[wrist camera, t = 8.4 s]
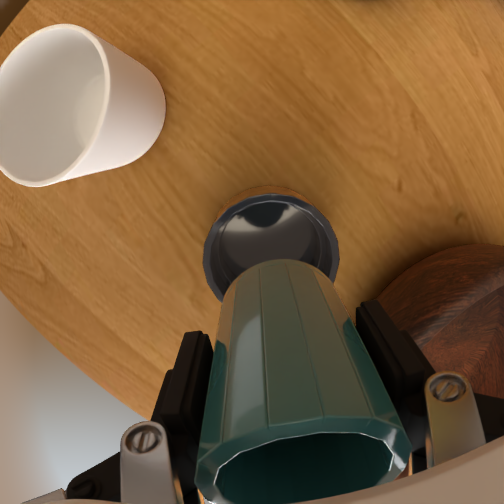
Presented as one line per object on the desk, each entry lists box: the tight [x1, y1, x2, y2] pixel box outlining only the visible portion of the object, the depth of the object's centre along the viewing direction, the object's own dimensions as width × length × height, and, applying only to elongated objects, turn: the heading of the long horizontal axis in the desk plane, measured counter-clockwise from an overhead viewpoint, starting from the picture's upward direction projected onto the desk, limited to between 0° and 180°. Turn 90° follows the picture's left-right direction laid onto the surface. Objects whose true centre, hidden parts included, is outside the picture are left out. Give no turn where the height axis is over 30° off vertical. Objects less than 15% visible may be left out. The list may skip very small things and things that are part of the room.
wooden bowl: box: [376, 244, 504, 481], centre depth 24 cm, size 25×25×10 cm
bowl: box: [203, 185, 340, 303], centre depth 23 cm, size 9×9×4 cm
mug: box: [0, 24, 166, 187], centre depth 17 cm, size 9×12×11 cm
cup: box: [193, 259, 413, 504], centre depth 9 cm, size 5×5×8 cm
